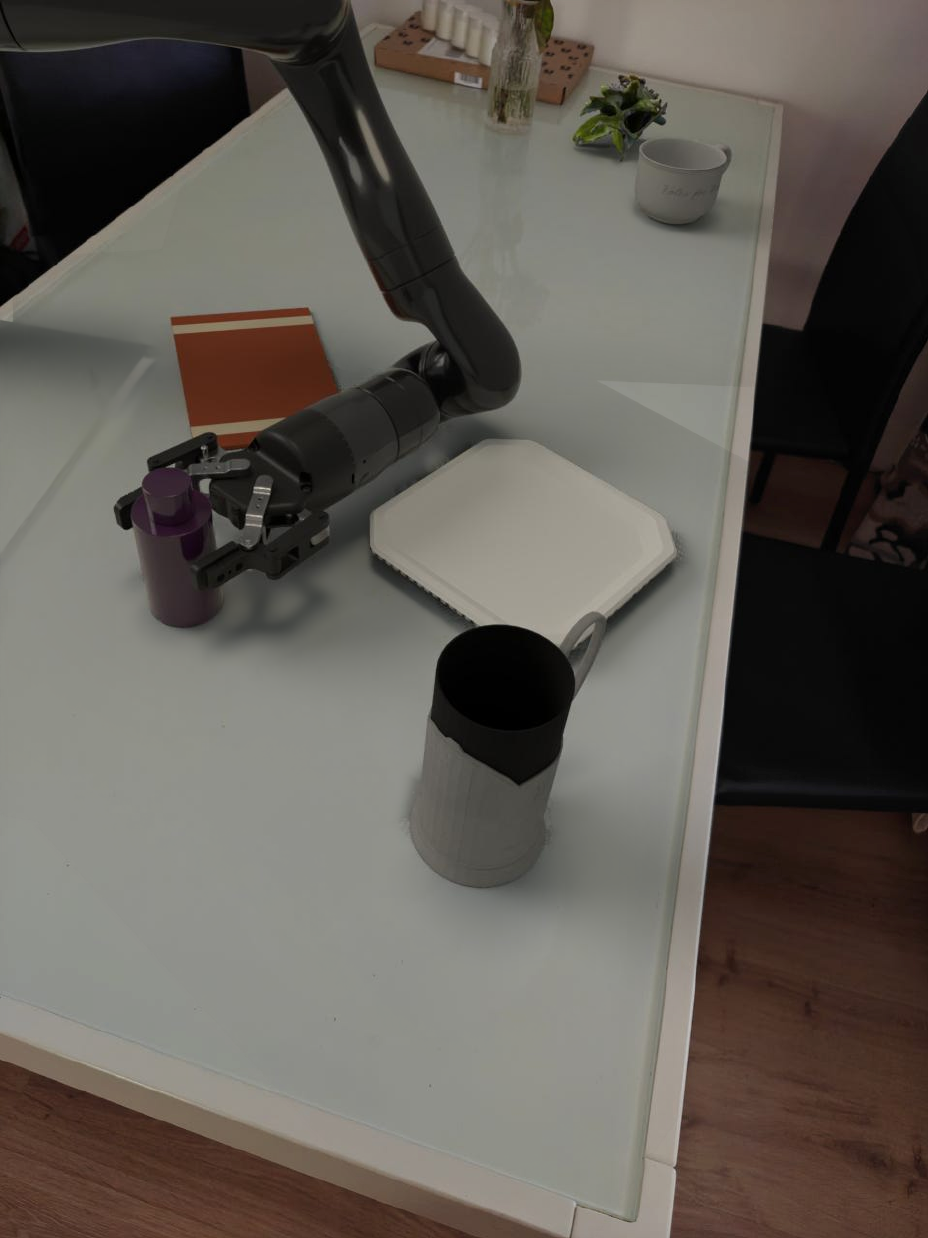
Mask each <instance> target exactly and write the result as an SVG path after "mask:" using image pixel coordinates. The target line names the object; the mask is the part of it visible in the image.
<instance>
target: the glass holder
mask: <svg viewBox="0 0 928 1238" xmlns="http://www.w3.org/2000/svg"><path fill="white" fill-rule="evenodd" d="M607 622H608V621H607V620H606V618H605V617H604V616H603V615H602V614H600V613H599V612H594V611H592V612H590V613H588V614H586V615H585V616H583V617H582V618H581V619H580V620H579V621H578V622H577V623H576V624H575V625H574V626H573V627H572V628H571V630H570V631H569V633H568V634H567V635H566V637H565V638H564V640H563V642H562V643H561V645H560V647H559V648H558V647H557V646H556V645H555V644H554V643H553V642H551V641H550V640H549V639H547V638H545V637H544V636H542V635H540V634H538V633H536V632H534V631H531V630H529V629H525V628H522V627H518V626H512V625H504V624H493V625H484V626H480V627H477V626H475V627H473V628H470V629H467V630H465V631H463V632H461V633H459V634H457V636H455V637H453V638H452V639H451V640H450V641H449V642H448V643H447V644H445V646H444V648H443V649H442V650H441V652H440V654H439V656H438V659H437V662H436V667H435V672H434V673H435V674H434V681H433V682H434V683H433V692H432V703H431V707H430V710H429V712H428V713H429V714H428V715H427V718H426V728H425V729H426V730H425V739H424V748H423V758H422V759H423V760H422V769H421V778H420V787H419V793H418V795H417V796H416V798H415V800H414V804H413V805H412V808H411V811H410V817H409V832H410V836H411V842H412V843H413V845H414V848H415V850H416V852H417V853H418V855H419V857H420V858H421V859H422V861H423V862H424V863H425V864H426V865H427V866H428V867H429V868H430V869H431V870H432V871H433V872H435V873H436V874H438V875H439V876H440V877H442V878H444V879H446V880H448V881H450V882H452V883H456V884H459V885H462V886H467V887H472V888H473V887H474V888H491V887H496V886H497V887H498V886H502V885H505V884H507V883H510V882H513V881H515V880H516V879H518V878H520V877H522V876H523V875H524V874H525V873H526V872H528V871H529V870H530V869H531V868H532V867H533V866H534V864H535V863H536V862H537V861H538V859H539V857H540V856H541V853H542V851H543V848H544V844H545V841H546V830H547V829H546V822H545V821H546V820H545V813H546V811H547V806H548V803H549V799H550V795H551V792H552V788H553V784H554V781H555V777H556V773H557V770H558V768H559V767H558V766H559V764H560V760H561V757H562V752H563V749H564V733H565V729H566V725H567V722H568V719H569V716H570V715H569V714H570V712H571V707H572V704H573V701H574V700H575V698H576V697H577V696H578V694H579V692H580V690H581V688H582V686H583V684H584V682H585V681H586V678H587V677H588V675H589V673H590V671H591V669H592V667H593V665H594V663H595V661H596V659H597V655H598V654H599V651H600V650H601V649H600V648H601V646H602V643H603V639H604V636H605V633H606V630H607V629H606V628H607ZM593 623H595V627H594V631H593V633H592V634H591V638H590V640H589V642H588V646H587V648H586V651H585V653H584V656H583V658H582V660H581V662H580V664H579V666H578V668H577V670H576V672H575V671H574V669H573V666H572V664H571V662H570V660H569V657H570V654H571V652H572V651H573V650H574V649H573V647H574V645H575V644H576V642H577V641H578V639H579V638H580V637H581V635H582V634H583V633H584V632H585V631H586V629H587V628H588V627H589V626H591V625H592V624H593ZM572 649H573V650H572Z"/></svg>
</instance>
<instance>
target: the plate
mask: <svg viewBox="0 0 928 1238" xmlns="http://www.w3.org/2000/svg"><path fill="white" fill-rule="evenodd" d="M369 549H370V551H371V552H372V554H373V556H374V557H376V558H378V560H380V561H382V562H383V563H385V564H386V565H387V566H389V567H391V568H392V569H393V570H395V571H396V572H397V573H399V574H400V575H402V576H403V577H405V578H406V579H408V580H409V581H411V582H412V583H414V584H415V585H416V586H417V587H419V588H420V589H422V590H424V591H425V592H426V593H428V594H429V595H430V596H432V597H434V599H436V600H438V601H439V602H441V603H443V605H445V606H446V607H448V608H449V609H451V610H452V611H454V612H455V613H456V614H458V615H459V616H461V617H462V618H463V619H465V620H466V621H468V622H469V623H471V624H472V625H473V626H475V627H480V626H484V625H493V624H504V625H512V626H518V627H522V628H525V629H529V630H531V631H534V632H536V633H538V634H540V635H542V636H544V637H545V638H547V639H549V640H550V641H551V642H553V643H554V644H555V645H556V646H557V647H558V648H559V647H560V645H561V643H562V642H563V640H564V638H565V637H566V635H567V634H568V633H569V631H570V630H571V628H572V627H573V626H574V625H575V624H576V623H577V622H578V621H579V620H580V619H581V618H582V617H583V616H585V615H586V614H588V613H590V612H592V611H594V612H599V613H600V614H602V615H603V616H604V617H605V618H606V621H607V620H608V619H610V618H611V617H612V616H613V615H614V614H615V613H616V612H618V610H620V609H621V608H622V607H623V606H624V605H625V604H626V603H628V602H629V601H630V600H631V599H632V598H633V597H634V596H635V595H637V594H638V593H639V592H640V591H641V590H642V589H643V588H645V586H647V585H648V584H649V583H650V582H651V581H652V580H653V579H654V578H656V577H657V576H658V575H659V574H660V573H661V572H662V571H663V570H664V569H665V568H667V567H668V566H669V565H670V564H671V563H673V561H675V560H676V558H677V554H678V550H677V546H676V543H675V541H674V537H673V534H672V531H671V528H670V525H669V521H668V520H667V519H666V518H665V517H664V516H663V515H662V514H660V513H658V512H657V511H655V510H653V508H650V507H648V506H647V505H645V504H643V503H642V502H640V501H638V500H637V499H635V498H633V497H631V496H630V495H628V494H626V493H624V492H623V491H621V490H619V489H617V488H616V487H614V486H612V485H611V484H609V483H608V482H606V481H604V480H602V479H601V478H598V477H597V476H595V475H594V474H592V473H590V472H588V471H587V470H585V469H583V468H581V467H580V466H578V465H576V464H574V463H572V462H571V461H569V460H568V459H566V458H564V457H562V456H560V455H559V454H557V453H556V452H554V451H552V450H551V449H549V448H547V447H545V446H543V445H541V443H539V442H536V441H534V440H530V439H513V438H486V439H482V440H480V441H479V442H477V443H476V444H474V445H472V446H471V447H469V448H467V450H464V451H463V452H462V453H460V454H459V455H457V456H456V457H454V458H452V459H451V460H449V461H448V462H446V463H445V464H444V465H441V466H440V467H438V468H437V469H435V470H434V471H432V472H431V473H429V474H427V475H426V476H424V477H423V478H421V479H420V480H418V481H417V482H415V483H413V484H412V485H410V486H409V487H407V488H405V489H404V490H402V491H401V492H399V493H398V494H396V495H395V496H393V497H391V498H390V499H388V500H386V501H385V502H383V503H382V504H380V505H379V506H378V507H375V508H374V509H373V510H372V511H371V513H370V515H369ZM594 627H595V623H593V624H592V625H591V626H589V627H588V628H587V629H586V631H585V632H584V633H583V634H582V635H581V637H580V638H579V639H578V641H577V642H576V644H575V645H574V647H573V649H572V650H571V651H573V650H575V649H576V648H577V647H578V646H580V644H582V642H584V641H585V640H586V639H588V638H589V637H590V636H592V634H593V631H594Z"/></svg>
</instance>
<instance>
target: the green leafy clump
mask: <svg viewBox="0 0 928 1238" xmlns="http://www.w3.org/2000/svg"><path fill="white" fill-rule="evenodd" d="M617 78H618V80H619V84H618V85H617V83H615V84H613V83H612V82H611V85H612V86H609V84H608V83H607V86H606V85H602V86H601V87H600V92H599V94H597V95H596V96H595V95H593V94H589V97H588V99H589V100H590V103H589V102H585V103H584V107H583V108H582V109H581V111H580V114H579V117H582V116H584V115H586V114H590V113H592V112H597V111H599V114H596V115H594V116H591V117H590V118H589V119H587V120H585V121H584V122H583V124H582V125H580V126H579V127H578V128H577V130H576V131H575V133H574V134H573V136H572V141H573V142H574V143H575V145H576V146H578V145H579V142H582V144H590V143H593V142H595V141H597V140H599V139H601V138H603V137H606V136H608V135H611V134H612V141H613V144H614V146H615V148H616V149H617V150H618V151H619V152H620V153H623V155H622V156H621V158H620V160H619V162H623V160H624V159H625V157H626V156H627V154H628V152H629V150H630V148H631V147H632V146H633V144H634V143H635V142H637V141H638V140H639V138H640V137H641V136H642V135H643V133H644V131H645V130H646V129H647V128H648V127H649V126H650V125H651V124H653V123H655V124H657V125H659V126H665V125H666V123H667V119H666V118H665V117H664V115H666V114H667V111H666V110H667V108H668V102H667V101H666V102H665V103H664V104H663V105H662V101H663V100H662V98H659V96H660V94H659V93H658V92H656V93H654V92H655V89H652V88H650V89H649V88H648V86H646V84H647V82H646V78H640V77H639V76H637V75H635V74H629V75H628V76H626V75H623V74H619V75H618V76H617ZM623 151H624V152H623Z"/></svg>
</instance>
